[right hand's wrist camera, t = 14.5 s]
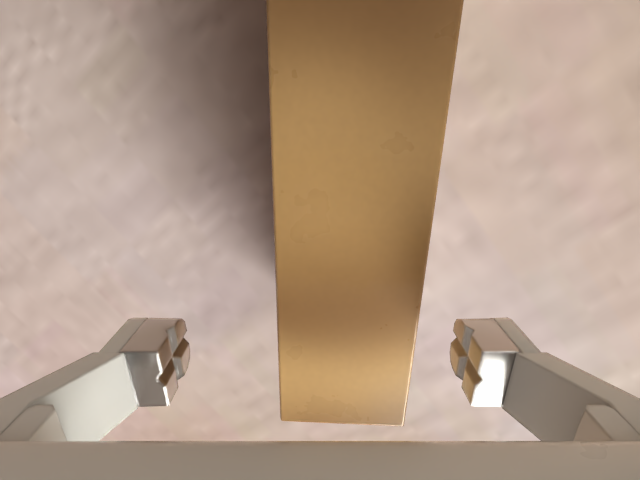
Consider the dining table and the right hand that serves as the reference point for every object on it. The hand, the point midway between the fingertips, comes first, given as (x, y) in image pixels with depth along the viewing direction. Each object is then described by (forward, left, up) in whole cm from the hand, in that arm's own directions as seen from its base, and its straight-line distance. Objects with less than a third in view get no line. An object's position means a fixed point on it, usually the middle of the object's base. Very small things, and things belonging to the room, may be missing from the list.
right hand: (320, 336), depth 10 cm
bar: (+8, +5, -9) cm, 13 cm away
